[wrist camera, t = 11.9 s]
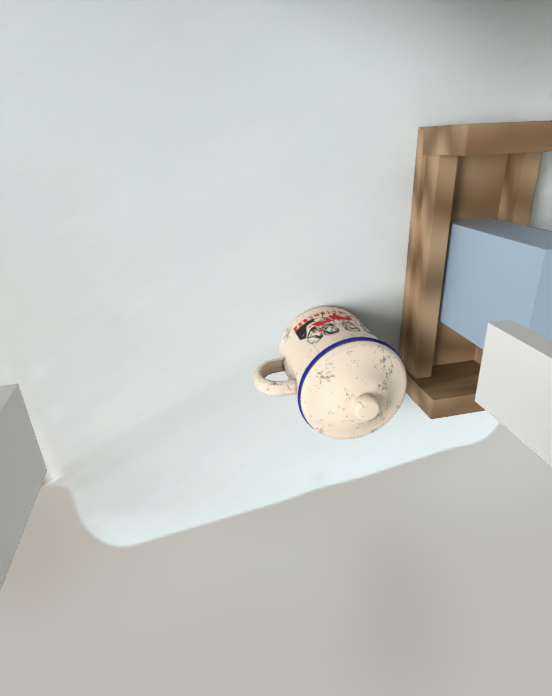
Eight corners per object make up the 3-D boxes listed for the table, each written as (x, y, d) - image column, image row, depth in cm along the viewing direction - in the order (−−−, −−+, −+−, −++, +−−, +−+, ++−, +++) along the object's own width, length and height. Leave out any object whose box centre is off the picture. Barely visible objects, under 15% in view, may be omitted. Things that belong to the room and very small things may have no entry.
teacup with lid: (368, 298, 42) (433, 348, 32) (362, 382, 46) (418, 452, 35) (242, 309, 40) (267, 367, 29) (247, 396, 44) (270, 475, 33)
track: (418, 127, 36) (469, 123, 30) (526, 123, 38) (594, 118, 32) (396, 382, 47) (430, 419, 40) (482, 370, 48) (527, 403, 42)
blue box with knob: (444, 221, 39) (545, 249, 29) (499, 216, 40) (618, 242, 29) (433, 316, 43) (519, 373, 32) (484, 310, 44) (583, 363, 33)
